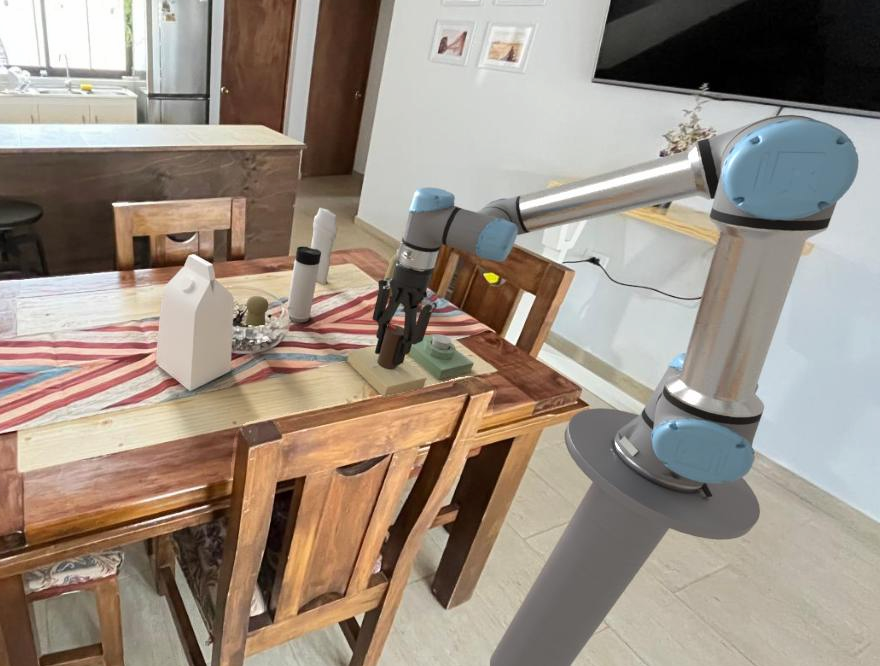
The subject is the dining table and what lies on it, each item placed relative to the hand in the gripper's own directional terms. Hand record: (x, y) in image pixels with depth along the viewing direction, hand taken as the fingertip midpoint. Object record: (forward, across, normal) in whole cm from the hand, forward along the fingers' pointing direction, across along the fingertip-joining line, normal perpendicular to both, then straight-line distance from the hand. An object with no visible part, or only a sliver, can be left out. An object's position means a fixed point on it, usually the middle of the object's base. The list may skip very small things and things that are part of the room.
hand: (388, 357), depth 116 cm
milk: (+5, -23, -37) cm, 44 cm away
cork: (+5, -26, -18) cm, 32 cm away
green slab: (+5, +3, +16) cm, 17 cm away
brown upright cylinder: (+2, 0, 0) cm, 2 cm away
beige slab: (+5, 0, 0) cm, 5 cm away
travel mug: (+5, -29, -1) cm, 29 cm away
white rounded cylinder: (+5, -44, +21) cm, 49 cm away
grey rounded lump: (+1, +3, +16) cm, 17 cm away
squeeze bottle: (+5, -25, +35) cm, 44 cm away
